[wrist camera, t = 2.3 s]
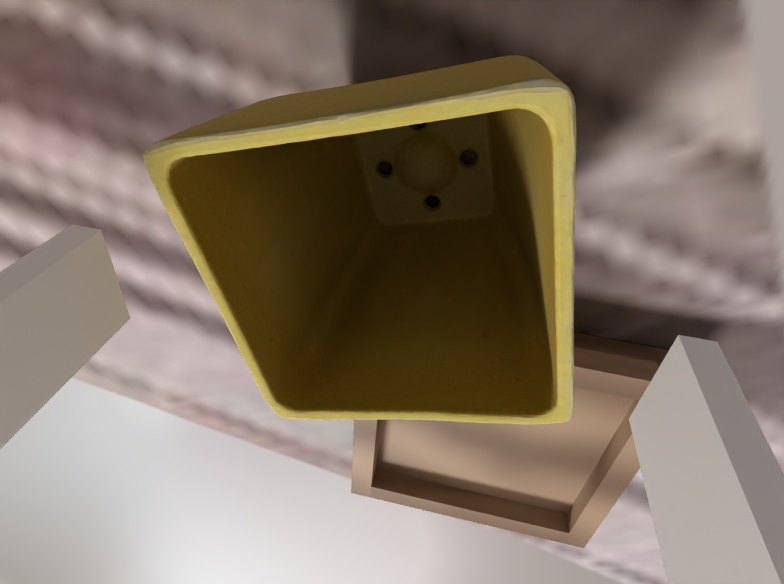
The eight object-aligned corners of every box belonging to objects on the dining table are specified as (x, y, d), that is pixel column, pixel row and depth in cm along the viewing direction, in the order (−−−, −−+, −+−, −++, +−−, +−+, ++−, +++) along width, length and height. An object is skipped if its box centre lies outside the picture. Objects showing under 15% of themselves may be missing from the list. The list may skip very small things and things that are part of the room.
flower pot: (550, 2, 15) (580, 76, 8) (554, 248, 20) (575, 431, 13) (289, 55, 17) (130, 148, 10) (350, 262, 22) (273, 420, 15)
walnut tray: (370, 293, 23) (358, 323, 21) (680, 352, 21) (694, 389, 20) (360, 461, 32) (351, 492, 30) (579, 512, 30) (583, 547, 28)
